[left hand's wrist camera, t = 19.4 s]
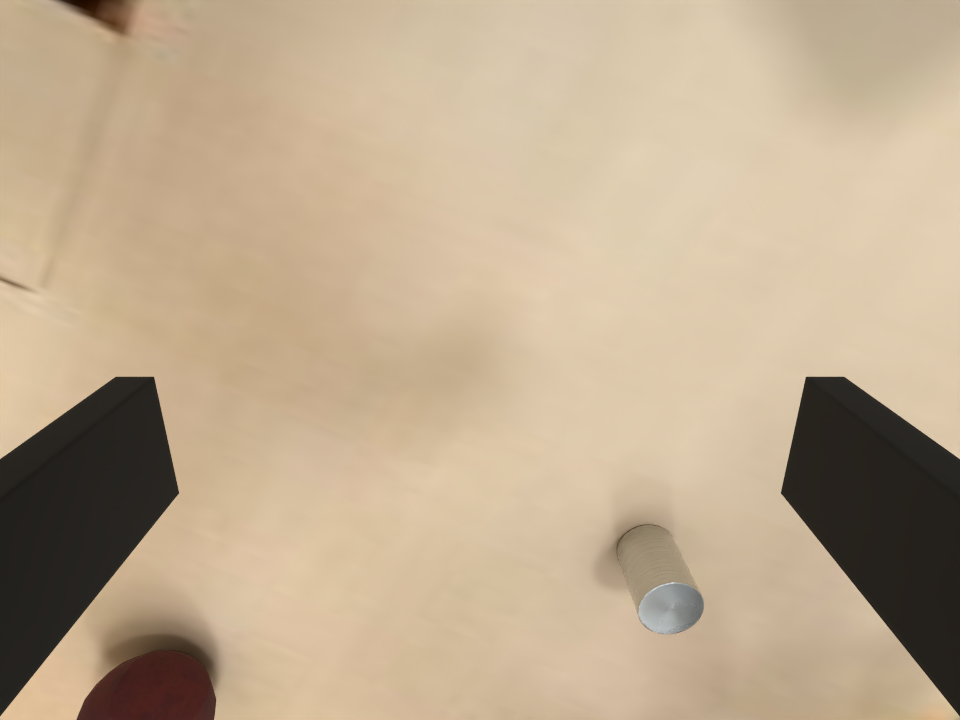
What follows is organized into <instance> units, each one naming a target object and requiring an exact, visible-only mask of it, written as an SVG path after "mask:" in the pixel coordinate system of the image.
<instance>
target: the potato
mask: <svg viewBox="0 0 960 720" xmlns="http://www.w3.org/2000/svg"><path fill="white" fill-rule="evenodd" d="M215 706H216V697H215V694H214V690H213V686H212V683H211V680H210V677H209V674H208V672H207V671H206V669H205V668H204V667H203V666H202V664H201V663H200V662H199V661H198V660H196V659H195V658H193V657H191V656H189V655H188V654H186V653H182V652H177V651H173V650H159V651H153V652H150V653H147V654H144V655H141V656H138V657H135V658H133V659H130V660H128V661H126V662H123V663H122V664H120V665H119V666H117V667H116V668H115V669H113V670H112V671H110V672H109V673H108V674H107V675H106V676H105V677H104V678H103V679H102V680H101V681H100V682H98V683H97V684H96V686H95V687H94V688H93V689H92V691H91V692H90V693H89V695H88V696H87V697H86V699H85V700H84V703H83V705H82V707H81V710H80V712H79V715H78V717H77V720H214V716H215Z"/></svg>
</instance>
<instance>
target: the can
mask: <svg viewBox="0 0 960 720" xmlns="http://www.w3.org/2000/svg"><path fill="white" fill-rule="evenodd" d="M617 555H618V559H619V562H620V565H621V567H622V570H623V573H624V576H625V579H626V582H627V585H628V587H629V590H630V593H631V596H632V599H633V602H634V605H635V608H636V610H637V613H638V616H639V619H640V621H641V622H642V624H643V625H644V626H645V627H646V628H648V629H649V630H651V631H653V632H656V633H660V634H675V633H679V632H682V631H684V630H686V629H688V628H690V627H691V626H693V625H694V624H695V623H696V622H697V621H698V620H699V618H700V617H701V615H702V613H703V609H704V601H703V597H702V595H701V593H700V591H699V589H698V587H697V585H696V583H695V581H694V579H693V577H692V575H691V573H690V571H689V569H688V567H687V565H686V563H685V561H684V559H683V557H682V555H681V553H680V551H679V549H678V547H677V545H676V543H675V541H674V539H673V537H672V536H671V534H670V533H669V532H668V531H667V530H665V529H663V528H661V527H659V526H655V525H643V526H639V527H636V528H634V529H632V530H630V531H629V532H627V533H626V534H625V535H624V536H623V537H622V539H621V540H620V542H619V544H618V548H617Z"/></svg>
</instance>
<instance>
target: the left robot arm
mask: <svg viewBox="0 0 960 720" xmlns="http://www.w3.org/2000/svg"><path fill="white" fill-rule="evenodd" d="M178 494H179V491H178V486H177V481H176V477H175V472H174V467H173V463H172V458H171V454H170V449H169V444H168V440H167V435H166V430H165V426H164V421H163V417H162V412H161V407H160V403H159V398H158V393H157V389H156V384H155V380H154V377H115V378H114V379H112V380H111V381H109V382H108V383H107V384H105V385H104V386H102V387H101V388H100V389H98V390H97V391H95V392H94V393H93V394H91V395H90V396H88V397H87V398H86V399H84V400H83V401H81V402H80V403H78V404H77V405H76V406H74V407H73V408H71V409H70V410H69V411H67V412H66V413H64V414H63V415H62V416H60V417H59V418H57V419H56V420H55V421H53V422H52V423H50V424H49V425H48V426H46V427H45V428H43V429H42V430H41V431H39V432H38V433H36V434H35V435H34V436H32V437H31V438H29V439H28V440H27V441H25V442H24V443H22V444H21V445H20V446H18V447H17V448H15V449H14V450H13V451H11V452H10V453H8V454H7V455H6V456H4V457H3V458H1V459H0V716H1V715H2V713H3V712H4V711H5V710H6V708H7V707H8V706H9V705H10V703H11V702H12V701H13V700H14V698H15V697H16V696H17V695H18V693H19V692H20V691H21V690H22V688H23V687H24V686H25V685H26V683H27V682H28V681H29V680H30V678H31V677H32V676H33V675H34V673H35V672H36V671H37V670H38V668H39V667H40V666H41V665H42V663H43V662H44V661H45V660H46V658H47V657H48V656H49V655H50V653H51V652H52V651H53V650H54V648H55V647H56V646H57V645H58V643H59V642H60V641H61V640H62V638H63V637H64V636H65V635H66V633H67V632H68V631H69V630H70V628H71V627H72V626H73V625H74V623H75V622H76V621H77V620H78V618H79V617H80V616H81V615H82V613H83V612H84V611H85V610H86V608H87V607H88V606H89V605H90V604H91V602H92V601H93V600H94V599H95V597H96V596H97V595H98V594H99V592H100V591H101V590H102V589H103V587H104V586H105V585H106V584H107V582H108V581H109V580H110V579H111V577H112V576H113V575H114V574H115V572H116V571H117V570H118V569H119V567H120V566H121V565H122V564H123V562H124V561H125V560H126V559H127V557H128V556H129V555H130V554H131V552H132V551H133V550H134V549H135V547H136V546H137V545H138V544H139V542H140V541H141V540H142V539H143V537H144V536H145V535H146V534H147V532H148V531H149V530H150V529H151V527H152V526H153V525H154V524H155V522H156V521H157V520H158V519H159V517H160V516H161V515H162V514H163V512H164V511H165V510H166V509H167V507H168V506H169V505H170V504H171V502H172V501H173V500H174V499H175V497H176V496H177V495H178ZM781 494H782V495H783V496H784V497H785V499H786V500H787V501H788V502H789V504H790V505H791V506H792V507H793V509H794V510H795V511H796V512H797V514H798V515H799V516H800V517H801V519H802V520H803V521H804V522H805V524H806V525H807V526H808V527H809V529H810V530H811V531H812V532H813V534H814V535H815V536H816V537H817V539H818V540H819V541H820V542H821V544H822V545H823V546H824V547H825V549H826V550H827V551H828V552H829V554H830V555H831V556H832V557H833V559H834V560H835V561H836V562H837V564H838V565H839V566H840V567H841V569H842V570H843V571H844V572H845V574H846V575H847V576H848V577H849V579H850V580H851V581H852V582H853V584H854V585H855V586H856V587H857V589H858V590H859V591H860V592H861V594H862V595H863V596H864V597H865V599H866V600H867V601H868V602H869V604H870V605H871V606H872V607H873V608H874V610H875V611H876V612H877V613H878V615H879V616H880V617H881V618H882V620H883V621H884V622H885V623H886V625H887V626H888V627H889V628H890V630H891V631H892V632H893V633H894V635H895V636H896V637H897V638H898V640H899V641H900V642H901V643H902V645H903V646H904V647H905V648H906V650H907V651H908V652H909V653H910V655H911V656H912V657H913V658H914V660H915V661H916V662H917V663H918V665H919V666H920V667H921V668H922V670H923V671H924V672H925V673H926V675H927V676H928V677H929V678H930V680H931V681H932V682H933V683H934V685H935V686H936V687H937V688H938V690H939V691H940V692H941V693H942V695H943V696H944V697H945V698H946V700H947V701H948V702H949V703H950V705H951V706H952V707H953V708H954V710H955V711H956V712H957V713H958V715H959V716H960V459H959V458H957V457H956V456H954V455H953V454H952V453H950V452H949V451H947V450H946V449H945V448H943V447H942V446H940V445H939V444H938V443H936V442H935V441H933V440H932V439H931V438H929V437H928V436H926V435H925V434H924V433H922V432H921V431H919V430H918V429H917V428H915V427H914V426H912V425H911V424H910V423H908V422H907V421H905V420H904V419H903V418H901V417H900V416H898V415H897V414H896V413H894V412H893V411H891V410H890V409H889V408H887V407H886V406H884V405H883V404H881V403H880V402H879V401H877V400H876V399H874V398H873V397H872V396H870V395H869V394H867V393H866V392H865V391H863V390H862V389H860V388H859V387H858V386H856V385H855V384H853V383H852V382H851V381H849V380H848V379H846V378H845V377H806V379H805V384H804V389H803V393H802V398H801V403H800V407H799V412H798V417H797V421H796V426H795V430H794V435H793V440H792V444H791V449H790V454H789V458H788V463H787V467H786V472H785V477H784V481H783V486H782V491H781Z"/></svg>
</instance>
